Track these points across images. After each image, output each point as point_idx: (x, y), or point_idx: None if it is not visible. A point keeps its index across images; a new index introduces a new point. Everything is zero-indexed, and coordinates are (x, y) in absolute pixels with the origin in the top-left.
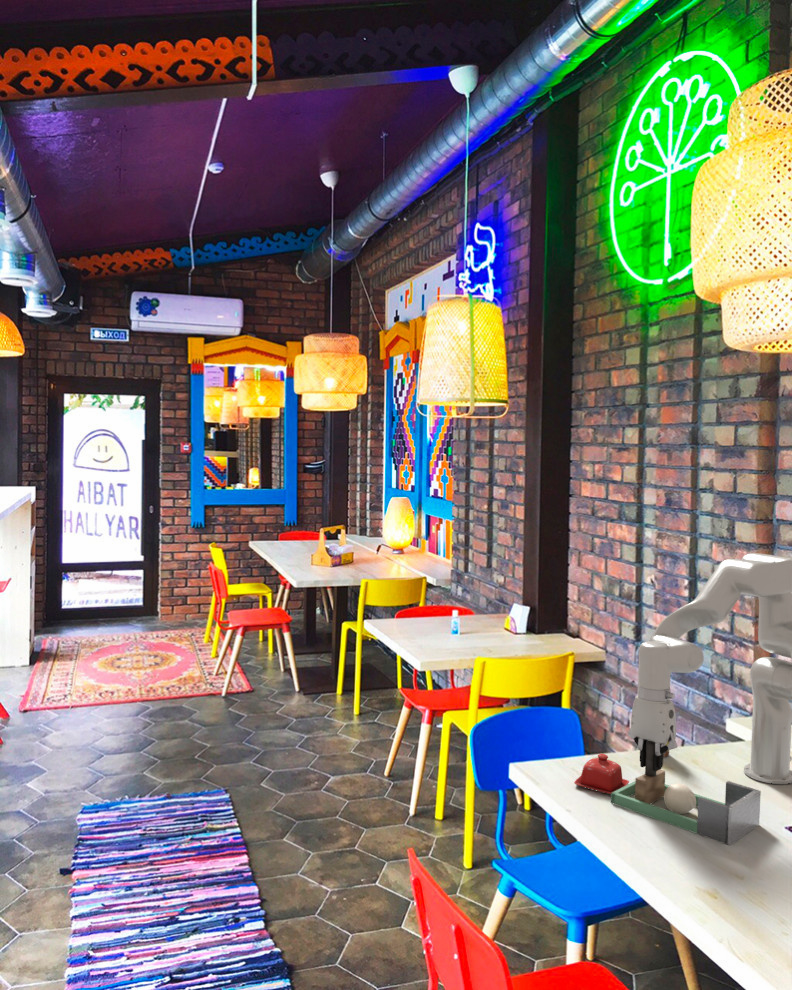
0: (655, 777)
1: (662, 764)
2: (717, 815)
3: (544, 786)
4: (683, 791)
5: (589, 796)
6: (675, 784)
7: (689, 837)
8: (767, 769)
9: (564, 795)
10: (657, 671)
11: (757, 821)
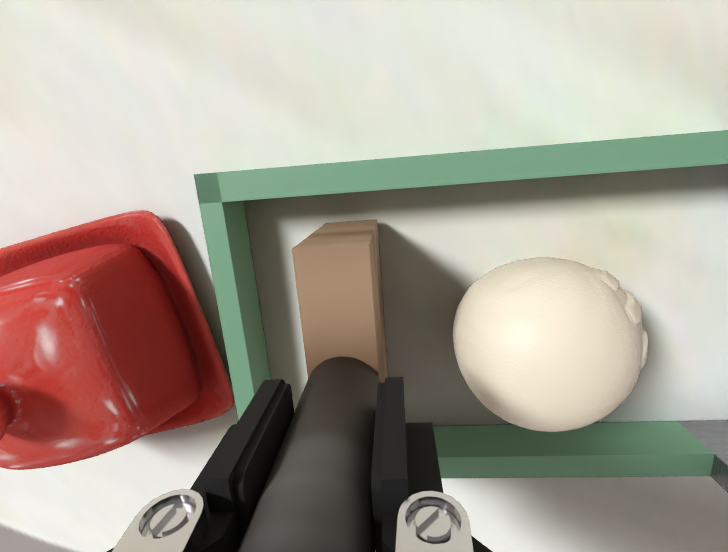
0: (379, 377)
1: (432, 434)
2: None
3: (18, 505)
4: (614, 407)
5: (174, 458)
6: (546, 393)
7: (661, 488)
8: None
9: (120, 516)
10: None
11: None
